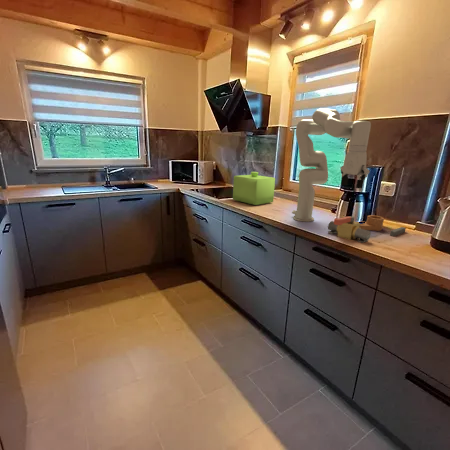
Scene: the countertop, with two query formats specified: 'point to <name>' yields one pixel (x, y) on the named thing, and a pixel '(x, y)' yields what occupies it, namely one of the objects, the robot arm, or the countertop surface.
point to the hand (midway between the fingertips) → (351, 186)
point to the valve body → (349, 231)
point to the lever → (343, 220)
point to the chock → (397, 231)
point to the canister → (253, 189)
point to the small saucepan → (373, 223)
